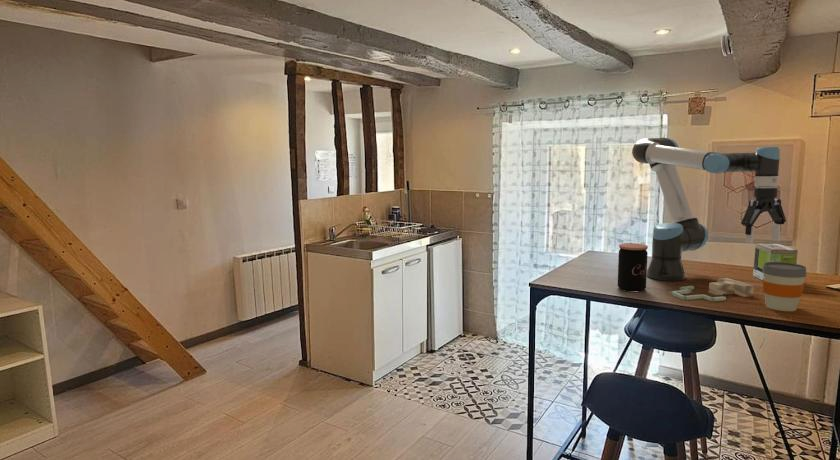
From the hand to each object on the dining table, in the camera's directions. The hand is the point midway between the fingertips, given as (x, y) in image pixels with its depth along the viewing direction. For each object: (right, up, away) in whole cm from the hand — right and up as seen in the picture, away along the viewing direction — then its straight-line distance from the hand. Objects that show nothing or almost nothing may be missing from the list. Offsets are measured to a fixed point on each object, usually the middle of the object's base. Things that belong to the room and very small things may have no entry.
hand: (762, 241), depth 199 cm
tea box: (+15, -17, +16) cm, 28 cm away
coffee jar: (-48, -20, +7) cm, 53 cm away
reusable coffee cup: (-7, -23, -20) cm, 31 cm away
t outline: (-28, -21, -3) cm, 35 cm away
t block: (-15, -20, 0) cm, 25 cm away
